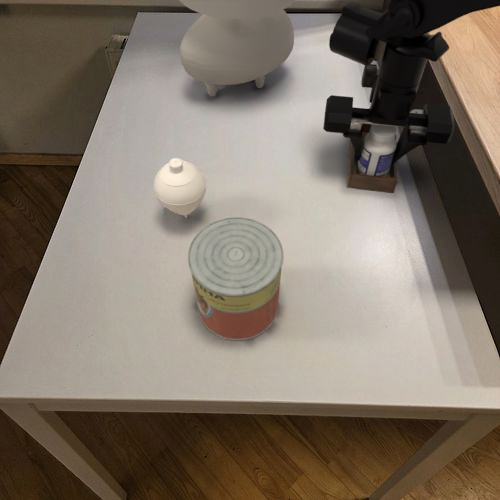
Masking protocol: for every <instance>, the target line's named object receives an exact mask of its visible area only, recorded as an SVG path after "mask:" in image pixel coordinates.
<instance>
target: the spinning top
mask: <svg viewBox="0 0 500 500" xmlns="http://www.w3.org/2000/svg"><path fill="white" fill-rule="evenodd" d="M153 192H154V194H155V197H156V199H157V201H158V202H159V203H160V204H161V205H162V206H163V207H164V208H166V209H167V210H168V211H170V212H172V213H174V214H176V215H180V216H184V218H185V219H187V218H188V215H190V214H191V213H193V212H194V211H195V210H196V209H197V208H198V207H199V205H200V204H201V203H202V202H203V199H204V198H205V196H206V192H207V181H206V177H205V174H204V173H203V172H202V171H201V169H200V168H199V167H197V166H196V165H195V164H193V163H191V162H189V161H186V160H183V159H182V158H178V157H173V158H171V159H170V160H169V161H168V163H166V164H164V165H163V166H162V167H161V168H160V169H159V170H158V172H157V173H156V175H155V178H154V180H153Z"/></svg>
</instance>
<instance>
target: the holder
mask: <svg viewBox="0 0 500 500" xmlns="http://www.w3.org/2000/svg"><path fill="white" fill-rule="evenodd" d="M371 125H372V124H363V129H362V143H363V140H364V137H365V136H366V135H367V134H368V133H369V131H370V128H371ZM395 139H396V142H398V141H397V135H396V136H395ZM361 147H362V145H361ZM357 165H358V160H356V155H355V151H354V147H353V145H352V143H351V141H350V139H349V143H348V161H347V178H346V188H347V189H355V190H363V191H373V192H379V193H381V192H382V193H390V194H394V193H395V190H396V187H397V184H398V182H399V173H398V171H399V169H398V168H399V167H398V161H397V162H395V163H394V164H391V165H390V169H389V172H388V174H387V175H386V176H385V177H382V176H373V175H364V174H359V172H358V170H357Z"/></svg>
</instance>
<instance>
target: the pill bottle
mask: <svg viewBox="0 0 500 500" xmlns="http://www.w3.org/2000/svg"><path fill="white" fill-rule="evenodd" d="M397 132H398V129H397V127H395V126H385V125H374V124H372V125H371V128H370V131H369V133H368V134H367V135H366V136H365V137H364V140H363V143H362V147H361V156H360V159H359V160H358V165H357V170H358V172H359V174H364V175H373V176H382V177H385V176H386V175H387V174H388V172H389V169H390V165H391V162H392V159H393V156H394V153H395V150H396V146H397V142H398V141H397V138H396V139H395V136H396V137H397ZM396 141H397V142H396Z"/></svg>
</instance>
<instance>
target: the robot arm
mask: <svg viewBox="0 0 500 500" xmlns="http://www.w3.org/2000/svg"><path fill="white" fill-rule="evenodd" d="M497 7H500V0H390V1H389V5H388V9H386V10H385V11H384V12H378V11H375V10H372V9H370V8H367V7H364V6H363V5H361V4H359V3H358V2H355V1H350V2H348V3H347V4H345V5H344V6H343V7H342V9H341V15H340V16H339V18H338V19H337V20H336V22H335V25H334V27H333V30H332V32H331V33H330V35H329V42H328V47H329V50H330V52H331V53H334V54H336V55H338V56H341V57H344V58H346V59H348V60H351V61H353V62H356V63H358V64H361V65H363V72H362V76H361V83H360V84H361V87H362V88H366V89H371V90H370V94H369V99H368V100H369V101H368V102H369V104H370V106H369V108H364V107H356V106H355V107H353V106H354V97H353V96H343V95H334V94H331V95H330V96H328V97H327V98H326V102H325V109H324V117H323V128H322V129H323V131H325V132H326V133H335V134H342V137H344V138H346V139H347V138H348V139H349V140H350V141H351V143H352V145H353V147H354V151H355V155H356V160H359V159H360V156H361V145H362V129H363V124H374V125H385V126H395V127H396V128H397V127H398V128H402V131H401V133H400V135H399V138H398V141H397V146H396V150H395V153H394V156H393V159H392V162H391V164H394V163H395V162H397V163H398V161H399V160H401V159H402V158H403V157H404V156H405V155H407V154H408V153H410V152H411V151H414V150H415V149H416V148H418V147H419V146H426V145H427V144H428V143H432V144H433V143H434V144H444V145H447V144H449V143H450V142H451V140H452V138H453V135H454V134H455V129H456V128H455V118H454V113H453V109H452V107H451V106H450V105H443V104H442V105H441V104H432V103H426V104H425V105H424V106H423V109H416V108H415V109H412V107H413V104H414V103H415V102H416V99H417V93H418V89H419V87H420V84H421V80H422V78H423V74H424V71H425V68H426V66H427V63H428V60H429V61H431V62H437V61H438V60H439V59H441V58H442V57H443V56H444V55H445V53H447V52H448V51H449V49H450V45H449V44H448V42H447V40H445V38H444V37H443V34H442V32H441V31H437V32H436V33H434V34H429V33H431V32H433V31H435V30H438V29H440V28H443V27H444V26H446V25H448V24H450V23H452V22H455V21H456V20H458V19H460V18H461V17H464V16H467V15H468V14H472V13H475V12H480V11H483V10H488V9H493V8H497ZM381 58H382V59H381ZM380 59H381V63H380V67H379V68H378V66H377V64H373V62H374V61H375V62H378V61H380Z"/></svg>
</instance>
